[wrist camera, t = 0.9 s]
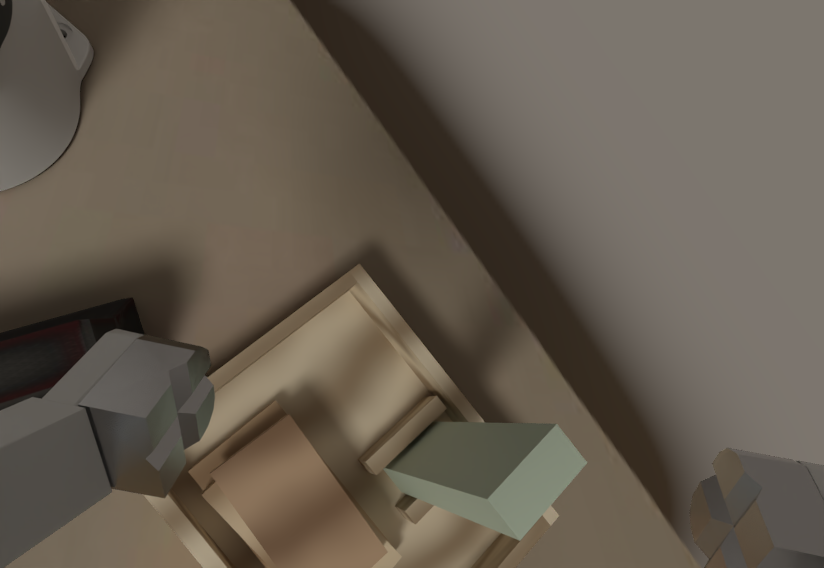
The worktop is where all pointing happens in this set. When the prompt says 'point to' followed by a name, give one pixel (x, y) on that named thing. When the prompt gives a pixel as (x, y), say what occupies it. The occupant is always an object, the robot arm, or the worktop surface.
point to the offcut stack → (288, 499)
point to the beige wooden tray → (344, 428)
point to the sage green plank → (488, 471)
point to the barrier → (56, 348)
